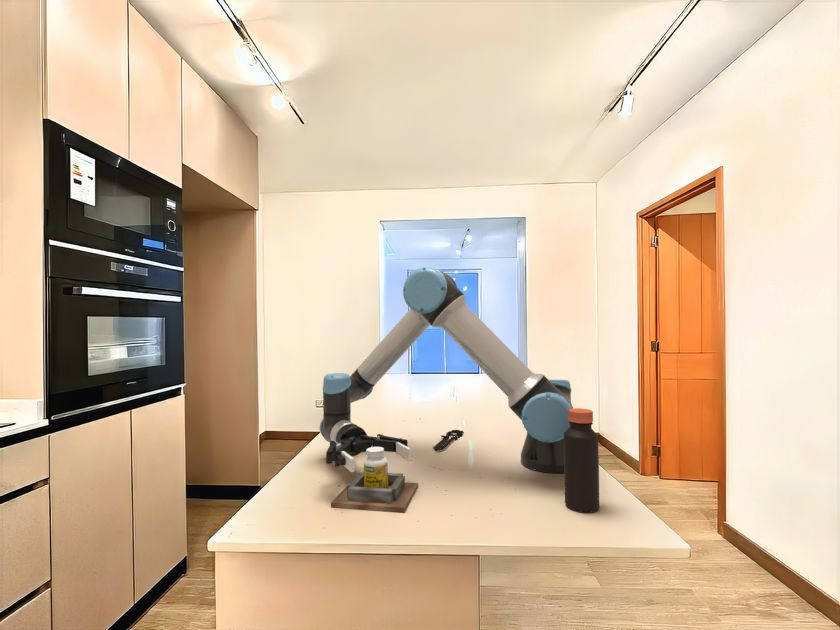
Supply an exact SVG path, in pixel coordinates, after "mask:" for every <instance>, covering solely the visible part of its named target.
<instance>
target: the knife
mask: <svg viewBox="0 0 840 630" xmlns="http://www.w3.org/2000/svg"><path fill="white" fill-rule="evenodd" d="M450 435H451V437H449V436H450ZM463 435H464V430H460V429H452V430H449V431H447V432H446V434H445V435H443V434H442V435H440V437H441V439H440V440H439V442H437V443H436V444H435V445H434V446H433V449H434V450H435V451H436V453H438V452H439V453H440V452H443V451H446V450H447V449H448V447H450V446H452V444H453V443H454V442H455V441H460V440H461V437H463ZM454 436H455V437H454ZM458 439H459V440H458ZM449 445H450V446H449Z"/></svg>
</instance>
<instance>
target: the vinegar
mask: <svg viewBox="0 0 840 630" xmlns="http://www.w3.org/2000/svg"><path fill="white" fill-rule="evenodd" d="M568 420H569V423H570V427H569V428H568V429H567V430H566V431H565V433H564V475H563V477H564V504H565V506H566V507H567V508H568V509H570V510H571V511H575V512H578V513H587V514H588V513H594V512H597V511H598V510H599V509H600V466H599V465H600V463H599V462H600V461H599V459H600V457H599V452H600V451H599V435H598V434H597V433H596V432H595V431H594V429H593V428H592V426H593V424H594V423H593V422H594V411H593V410H591V409H587V408H577V407H575V408H574V407H573V409H569V410H568Z"/></svg>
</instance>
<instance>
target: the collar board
mask: <svg viewBox="0 0 840 630" xmlns="http://www.w3.org/2000/svg"><path fill="white" fill-rule="evenodd" d="M418 488H419V482H411V481H406V478H405V475H404V473H398V472H397V473H395V472H388V489H386V488H370V487H364V471H363V472H361V473H358V474H357V475H356V476H355V477H354V478H353V479H352V480H351V481H350V482H349V483H348V484H347V485H346V486H345V487H344V488H343V490H341V492H339V493H338V494H337V496H336V497H335V498H334V499H333V500H331V502H330V507H331V508H337V509H353V510H361V511H362V510H363V511H364V510H366V511H376V512H377V511H378V512H390V513H391V512H392V513H393V512H394V513H403V514H404V513H406V510H407V509H408V507H409V505H410V503H411V501H412V500H413V498H412V497H414V495H415V494H416V492H417V490H418ZM411 499H412V500H411Z"/></svg>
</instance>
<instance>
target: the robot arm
mask: <svg viewBox="0 0 840 630" xmlns="http://www.w3.org/2000/svg"><path fill="white" fill-rule="evenodd" d="M402 290H403V291H402V295H403V298H404V302H405V303H406V305H407V306H408V308H409V310H408V311H407V312H406V313H405V314H404V316H402V318H401V319H400V320H399V321H398V322H397V323H396V324H395V326H393V328H392V329H391V330H390V331H389V332H388V333H387V334H386V335H385V336H384V338H382V340H381V341H380V342H379V343H378V344H377V345H376V347H375V348H374V349H373V350H372V351H371V352H370V353H369V354H368V356H366V358H365V359H364V360H363V362H361V363H360V364H359V366H357V368H355V370H354V371H353V373H352V374H351V375H350V374H349V373H344V372H334V373H328V374H325V375H324V377H323V382H322V383H323V384H322V385H323V386H322V400H323V401H322V402H323V403H322V407H323V409H322V411H323V414H322V419H321V421H320V423H319V432H320V435H321V436H322V437H323V438H324V440H325V441H326V442H328V443H329V447H328V448H327V450H326V451H325V463H326V465H330V464H332V463H333V462H334V467H336V468H338V467H339V468H340V467H341V466H343V467H344V468H346V470H348V471H349V472H350V473H354V472H355V458H354V456H358V455H360V454H361V453H366V449H368V448H370V447H382V448H384V452H388V453H389V452H390V453H395V454H396V456H399V457H401V459H403V460H404V461H405V460H406V461H407V462H412V461H413V460H412V458H413V457H412V455H413V454H412V453H413V452H412V448H410V447H409V446H408V439H406V438H405V439H404V438H402V437H393V436H388V435H383V434H381V433H378V434H377V435H376V436H371V435H368V433H367V432H366V431H365V429H364V428H362V427H361V426H358V424H356V423H353V422H352V419H351V416H352V415H351V411H352V410H351V407H352V406H351V405H352V403H355V402H357V401H360V400H363V399H366V398H367V397H368V396H369V395H371V394H372V391H373V390H374V387H375V386H376V385H377V383H378V382H379V381H380V380H381V379H382V378H383V377H384V376H385V375H386V374H387V372H389V370H390V369H391V368H392V367H393V366H394V365H395V364H396V363H397V362H398V360H400V359H401V357H402V356H403V355H404V354H405V353H406V352H407V351H408V350H409V348H410V347H411V346H413V344H415V342H416V341H417V340H418V339H419V338H420V337H421V336H422V335H423V334H424V332H425V331H426V330H427V329H428V328H429V327H430V326H432V328H441V329H443V331H445V333H446V334H447V335H448V336H449V337H450V338H451V339H452V340H453V341H454V342H455V343H456V344H457V345H458V346H459V347H460V348H461V350H462V351H463V352H464V353H465V354H467V355H468V357H470V359H471V360H472V361H473V362H474V364H476V365H477V366H478V367H479V369H481V371H483V373H484V374H485V375H486V376H488V378H489V379H490V380H491V382H493V383H494V384H495V385H496V386H497V387H498V388H499V389H500V391H502V393H504V395H505V396H506V398H507V399H508V400H507V402H508V405H507V407H509V409H510V411H512V412H513V413H514V414H515V415H516V416H517V417H518V418H519V419H520V420H521V422H522V425H523V428H524V429H525V431H526V436H525V439H524V443H523V446H522V449H521V453H520V463H521V465H522V466H524V467H525V468H528V469H530V470H534V471H538V472H542V473H550V474H551V473H552V474H558V473H559V474H560V473H561V474H562V473H564V433H565V431H566V430H567V429H568V428H569V427H570V423H569V420H568V410H569V409H574V406H573V404H572V397H571V395H572V387H571V383H570V381H569V379H568V380H567V379H549V378H548V377H547V376H545V374H544V373H535V372H533V371H532V370H531V369H530V368H529V367H528V366H527V365H526V364H525V363H524V362H523V361H522V360H521V359H520V358H519V357H518V356H517V355H516V354H515V353H514V352H513V351H512V350H511V349H510V348H509V347H508V346H507V345H506V344H505V343H504V342H503V341H502V340H501V339H500V338H499V337H498V335H496V334H495V333H494V332H493V331H492V329H490V327H488V326H487V325H486V323H484V322H483V320H482V319H481V318H479V317H478V315H477V314H476V313H474V311H473V310H471V308H470V307H469V306H468V305H467V302H466V301H467V300H466V295H465V294H464V293H463V291H461V290H460V288H458V285H457V283H456V281H455V280H454V279H453V278H452V276H450V275H449V274H447V273H445V272H442V271H440V270H439V269H437V268H436V267H435V268H434V267H430V266H429V267H420V268H417V269H415V270H413V271H412V272H411V273H410V274H409V275H408V276H407V277H406V279H405V281H404V284H403V288H402Z"/></svg>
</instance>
